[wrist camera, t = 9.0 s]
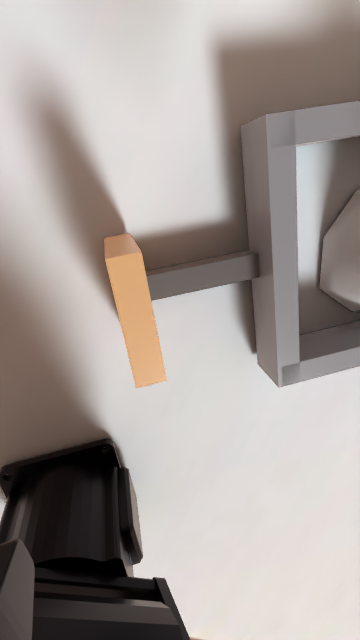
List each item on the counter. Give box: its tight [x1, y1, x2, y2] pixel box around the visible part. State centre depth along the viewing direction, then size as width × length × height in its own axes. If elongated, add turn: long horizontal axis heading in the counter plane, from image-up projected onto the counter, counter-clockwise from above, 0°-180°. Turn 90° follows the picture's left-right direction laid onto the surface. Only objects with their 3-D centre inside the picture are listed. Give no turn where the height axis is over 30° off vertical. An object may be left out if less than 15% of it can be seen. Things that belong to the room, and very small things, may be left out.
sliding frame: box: [104, 101, 360, 388], centre depth 16 cm, size 19×12×5 cm, turn 99°
